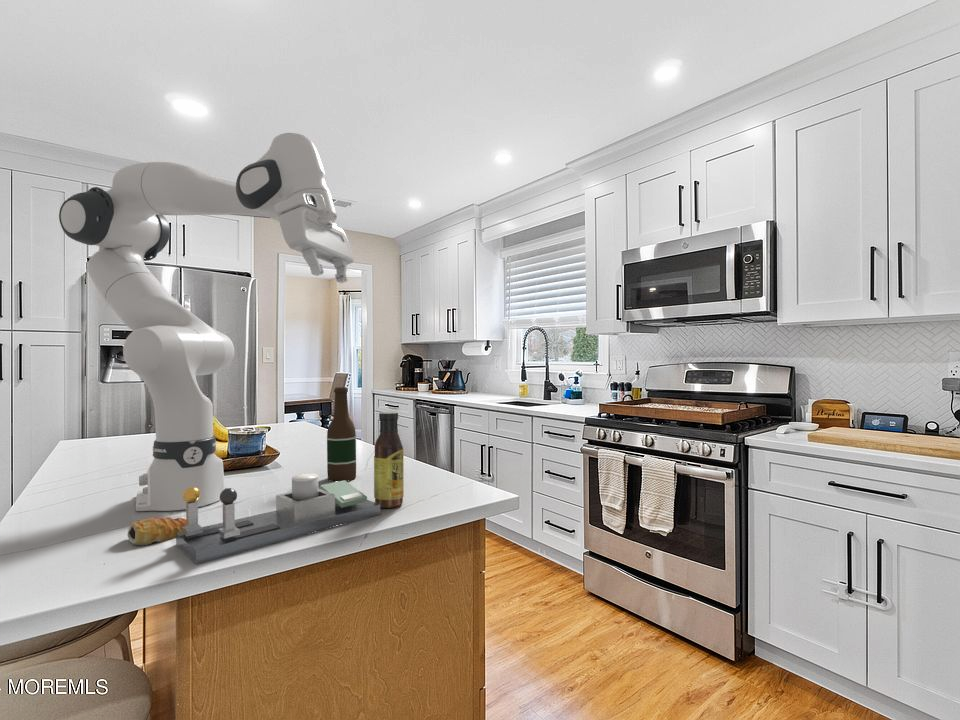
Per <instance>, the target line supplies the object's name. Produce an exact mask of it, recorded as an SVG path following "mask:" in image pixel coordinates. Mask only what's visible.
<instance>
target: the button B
mask: <svg viewBox="0 0 960 720" xmlns="http://www.w3.org/2000/svg"><path fill="white" fill-rule="evenodd" d="M318 488H319V475H318V474H317V473H303V474H297V475H293V476H292V477H291V492H292V499H293V500H296V501H301V500H305V499H310V498H314V497H319V489H320V488H319V489H318Z"/></svg>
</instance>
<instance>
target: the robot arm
mask: <svg viewBox="0 0 960 720" xmlns="http://www.w3.org/2000/svg"><path fill="white" fill-rule="evenodd" d="M320 157H321V156H320V154H319V152H318V149H317V147H316V146H315V144H314V142H313V141H312V140H311V139H310V138H308V137H306V136H305V135H303V134H300V133H294V132H284V133H280V134H279V135H276V136H275V137H274V138H273V139H272V141H271V145H270V146H269V148H268V150H267V151H266V152H265V153H264V154H263V155H262V156H261V157H260V158H259V159H257V161H255V162H253V163H250V164H248V165H246V166H245V167H244V168H243V169H241V170H240V172H239V173H238V175H237V178H236V182H235V184H231V183H227V182H224V181H222V180H221V179H218V178H216V177H214V176H211V175H209V174H207V173H205V172H202V171H200V170H198V169H196V168H193V167H192V166H188V165H184V164H179V163H176V162H168V161H150V162H149V161H147V162H141V163H140V162H139V163H135V164H130V165H127V166H124V167H121V168H119V169H118V170H116V173H114V175H113V179H112V183H111V188H110V189H108V190H104V189H103V188H100V187H98V186H93V187H91V188H89V189H88V190H87V191H84V192H79V193H75V194H72V195H71V196H70V197H68V198H67V199H66V200H64V201H63V202H62V204H61V205H60V208H59V215H58V219H59V223H60V226H61V229H62V231H63V232H64V234H65V235H66V236H67V237H68V238H70V239H72V240H74V241H75V242H78V243H81V244H83V245H87V246H96V247H98V251H96V252H95V253H93V254H92V255H91V256H90V258H89V260H88V262H87V272H88V274H89V276H90V278H91V280H92V282H93V283H94V286H95V287H96V289H97V291H98V292H99V293H100V295H101V296H102V298H103V299H104V300H105V301H106V303H107V304H108V305H109V306H110V308H111V309H112V310H113V311H114V312H115V314H116V315H117V316H118V317H119V318H120V320H121V321H122V322H123V324H124V325H125V326H126V327H127V328H129V329H130V330H131V333H129V334H128V336H127V337H126V339H125V340H124V343H123V346H122V354H123V359H124V362H125V364H126V365H127V367H128V368H129V369H130V370H131V371H132V372H134V373H135V374H136V375H137V376H138V377H140V379H141V380H142V381H143V383H144V384H145V386H146V388H147V390H148V392H149V394H150V397H151V400H152V403H153V404H152V405H153V408H154V424H155V425H154V426H155V440H154V441H153V445H152V457H153V459H152V462H151V464H150V465H149V467H148V469H147V473H143V474H141V475H139V476H138V486H139V487H143V486H147V487H143V488H142V490H141V491H137V492H136V498H135V499H136V500H135V501H136V502H135V511H136V512H145V511H146V512H147V511H148V512H149V511H158V512H160V511H161V512H165V511H167V512H168V511H169V512H170V511H171V512H172V511H180V510H186V501H185V500H184V499H183V493H184V491H185V490H186V489H187V488H189V487H196V488H198V489H199V490H200V493H201V495H200V498H199V499H198V500H197V502H198V508H199V507H203V506H208V505H210V504H214V503H216V502H218V501H220V493H221V492H222V491H223V490H224V489H227V488H228V487H226V485H225V475H224V461H223V459H222V458H221V457H219V456H217V455H216V453H215V452H216V451H217V447H216V446H217V441H216V436H215V435H214V407H213V406H214V405H213V402H212V400H211V399H210V397H208V396H206V395H205V394H204V393H203V391H202V390H201V389H200V387H199V384H198V381H197V376H207V375H213V374H216V373H219V372H220V371H223V370H225V369H227V368H228V367H230V366H231V364H232V363H233V361H234V357H235V346H234V343H233V341H232V339H230V337H229V336H228V335H226V334H225V333H223V332H221V331H218V330H217V329H215V328H213V327H212V326H210V325H208V324H207V323H206V322H204V321H203V320H202V319H200V318H199V317H197V316H196V315H195V314H194V313H193V312H191V311H190V310H188V309H187V308H186V307H185V306H183V305H182V304H181V303H180V302H179V301H177V299H175V298H174V296H172V294H170V292H169V291H168V290H167V289H166V288H165V287H164V285H162V283H161V282H160V280H158V278H157V277H156V276H155V275H154V274H153V273H152V272H151V270H149V268H148V267H147V266H146V264H145V262H149V261H151V260H154V259H155V258H157V255H158V254H159V253H160V252H162V251H163V249H165V247H166V246H167V244H168V242H169V240H170V238H171V227H170V224H169V221H168V219H167V218H166V217H165V216H212V215H213V216H223V215H224V216H227V215H228V216H242V217H254V218H264V219H265V218H266V219H272V220H274V221H277V222H279V225H280V229H281V233H282V235H283V239H284V241H285V243H286V244H287V246H288V247H289V248H290V250H294V251H296V252H299V253H302V257H303V259H304V260H305V262H306V263H307V265H308V267H309V268H310V273H311V275H313V276H317V277H319V276H322V275H323V274H324V267H323V264H321V263H320V262H319V260H321V261H324V262H327V263H329V264H331V265H332V264H333V266H334V269H336V271H335V272H336V273H335V274H334V276H335V279H336V280H335V281H336V282H337V283H339V284H344V283H346V282H347V281H348V276H347V267H348V265H351V264H352V263H354V261H355V260H354V258H355V257H354V253H353V250H352V247H351V245H350V241H349V238H348V236H347V235H346V232H345V231H344V230H343V229H342V228H341V227H338V224H337V223H335V222H336V220H337V218H338V214H337V212H336V208H335V204H334V200H333V197H332V194H331V192H330V190H329V187H328V186H327V183H326V178H327V177H326V173H325V169H324V165H323V162H322V160H321V158H320Z"/></svg>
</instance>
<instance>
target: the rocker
mask: <svg viewBox="0 0 960 720" xmlns="http://www.w3.org/2000/svg"><path fill="white" fill-rule="evenodd" d="M319 489H322V490H324V491H327V492H329V493H332V494H335V503H336V504H338V505H339V506H340V507H341V508H342V507H346V506H351V505H355V504H359V503H363V502H367V500H368V496H367V495H365V494H364V493H362V491H360V490H358V489H357V488H356V487H354V486H353V485H352V484H350V483H349V481H345V480H343V481H338V482H334V481H332V482H328V483H324V484H320V486H319Z"/></svg>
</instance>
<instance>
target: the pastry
mask: <svg viewBox="0 0 960 720" xmlns="http://www.w3.org/2000/svg"><path fill="white" fill-rule="evenodd" d="M184 526H186V518H183V517H177V518H172V517H171V516H168V517H167V516H164V517H159V516H153V517H152V518H145V519H141V520H138V521H137V520H136V521H132V522H131V523H130V525H129V527H128V530H127V538H128V542H129V543H131V544H133V545H135V546H146V545H151V544H152V543H154V542H158V543H161V542H162V543H163V542H166V541H167V540H171V539H176V533H178V532H182V527H184Z"/></svg>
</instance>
